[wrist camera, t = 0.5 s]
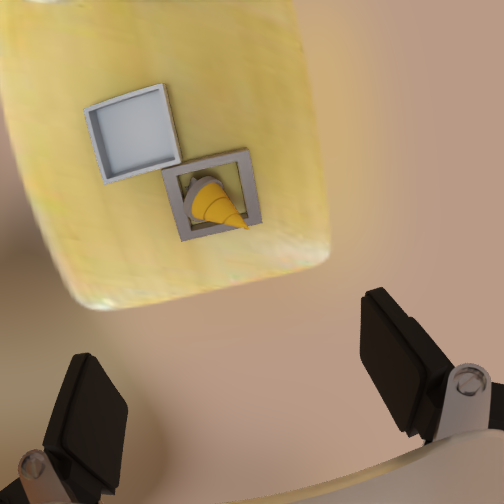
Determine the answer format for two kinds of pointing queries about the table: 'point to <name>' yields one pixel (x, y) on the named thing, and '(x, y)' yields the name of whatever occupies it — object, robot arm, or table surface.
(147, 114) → the parts tray
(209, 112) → the table surface
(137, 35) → the table surface
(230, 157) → the holder panel
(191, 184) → the grooved yellow cone
